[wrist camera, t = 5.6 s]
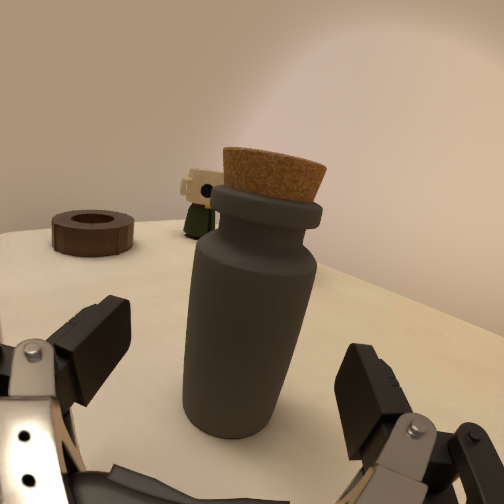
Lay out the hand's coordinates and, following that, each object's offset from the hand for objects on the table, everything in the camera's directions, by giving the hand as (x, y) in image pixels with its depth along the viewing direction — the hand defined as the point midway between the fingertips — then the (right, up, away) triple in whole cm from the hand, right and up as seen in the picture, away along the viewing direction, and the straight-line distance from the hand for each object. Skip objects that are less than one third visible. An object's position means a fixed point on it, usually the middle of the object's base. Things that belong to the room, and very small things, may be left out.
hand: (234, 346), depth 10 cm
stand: (-25, +5, +32) cm, 41 cm away
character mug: (-10, +6, +46) cm, 48 cm away
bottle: (-1, -7, +7) cm, 10 cm away
